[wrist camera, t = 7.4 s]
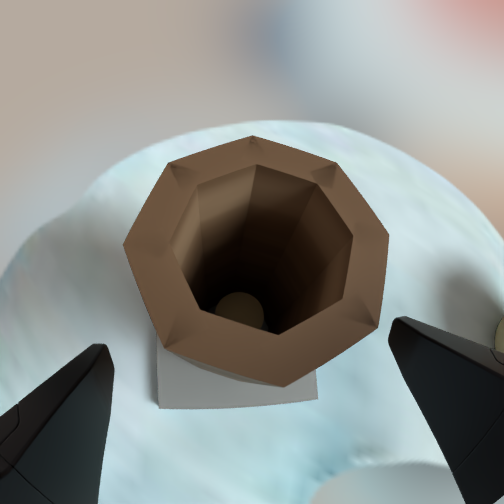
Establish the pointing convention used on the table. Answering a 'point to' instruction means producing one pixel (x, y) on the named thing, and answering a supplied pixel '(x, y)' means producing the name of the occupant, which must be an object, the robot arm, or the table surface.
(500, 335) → the flower pot
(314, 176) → the brown faceted vase
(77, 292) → the table surface
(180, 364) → the post stand
